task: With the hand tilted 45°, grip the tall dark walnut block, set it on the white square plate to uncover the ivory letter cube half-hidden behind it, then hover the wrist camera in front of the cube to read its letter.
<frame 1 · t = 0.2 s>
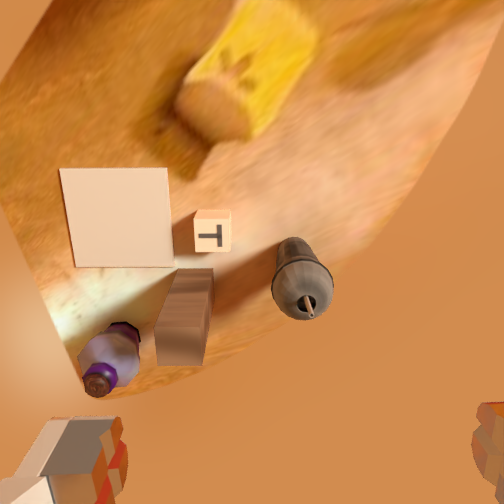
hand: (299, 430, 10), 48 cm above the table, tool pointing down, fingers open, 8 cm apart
potion bottle: (123, 336, 65), on the table
white square plate: (120, 218, 57), on the table
beverage cup: (293, 251, 59), on the table
letter cube: (215, 225, 58), on the table
walnut block: (196, 284, 61), on the table
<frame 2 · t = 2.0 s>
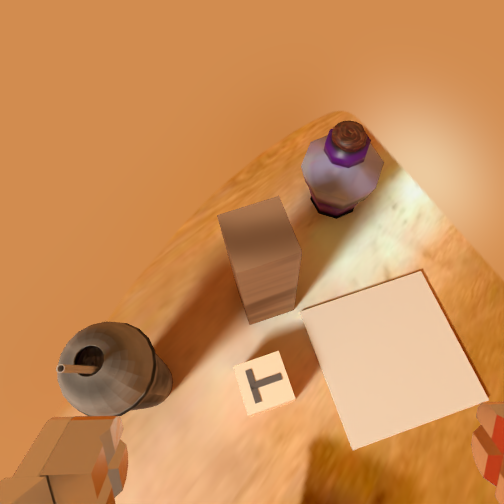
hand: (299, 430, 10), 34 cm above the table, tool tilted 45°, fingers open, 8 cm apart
potion bottle: (333, 198, 50), on the table
white square plate: (388, 354, 43), on the table
beverage cup: (151, 383, 43), on the table
letter cube: (264, 386, 42), on the table
walnut block: (264, 296, 46), on the table
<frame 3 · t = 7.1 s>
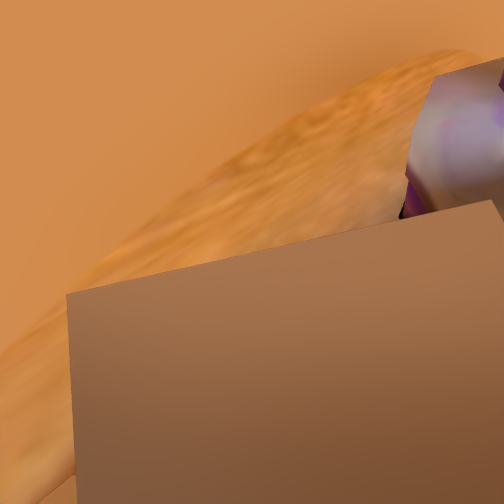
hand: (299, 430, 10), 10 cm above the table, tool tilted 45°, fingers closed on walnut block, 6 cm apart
potion bottle: (449, 221, 23), on the table
walnut block: (282, 450, 18), on the table, touching gripper
when the fingers open (11 cm above the table, at t = 14.5 s): walnut block stays where it is, resting on white square plate.
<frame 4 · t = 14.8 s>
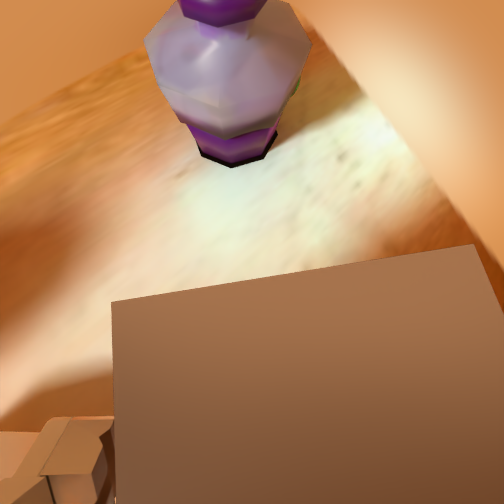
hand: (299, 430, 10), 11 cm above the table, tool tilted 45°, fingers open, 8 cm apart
potion bottle: (235, 134, 28), on the table
letter cube: (1, 497, 19), on the table
walnut block: (281, 449, 19), resting on white square plate
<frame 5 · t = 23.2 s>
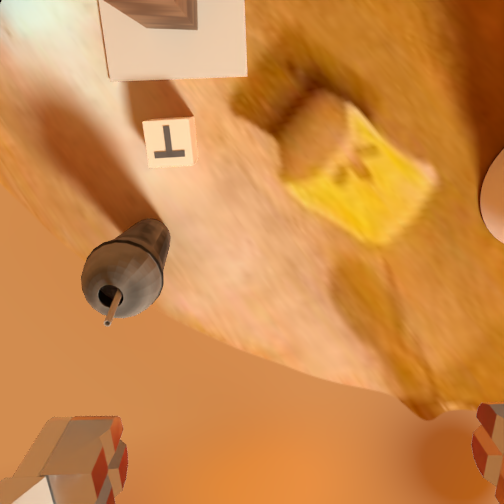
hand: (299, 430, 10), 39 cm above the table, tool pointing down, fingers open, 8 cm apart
white square plate: (172, 1, 41), on the table
beverage cup: (151, 236, 49), on the table
letter cube: (175, 139, 45), on the table
walnut block: (171, 0, 40), resting on white square plate
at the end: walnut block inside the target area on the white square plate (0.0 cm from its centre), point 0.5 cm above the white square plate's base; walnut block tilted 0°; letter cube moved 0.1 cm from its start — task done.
